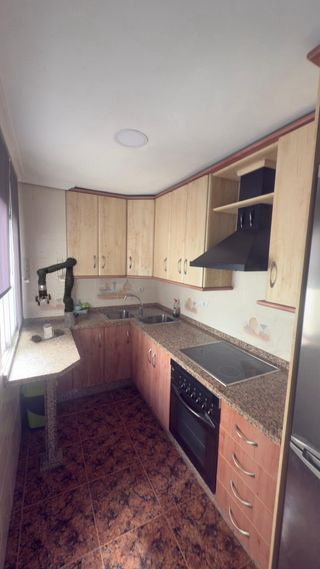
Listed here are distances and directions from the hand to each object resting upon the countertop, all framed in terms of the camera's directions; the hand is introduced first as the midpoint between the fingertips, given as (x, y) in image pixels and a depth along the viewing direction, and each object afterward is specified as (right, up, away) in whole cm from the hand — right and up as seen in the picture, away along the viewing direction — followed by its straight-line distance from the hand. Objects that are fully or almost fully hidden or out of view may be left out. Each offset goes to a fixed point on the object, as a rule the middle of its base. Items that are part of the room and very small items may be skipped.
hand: (43, 305), depth 235 cm
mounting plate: (+10, -30, -12) cm, 34 cm away
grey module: (+10, -29, -12) cm, 33 cm away
